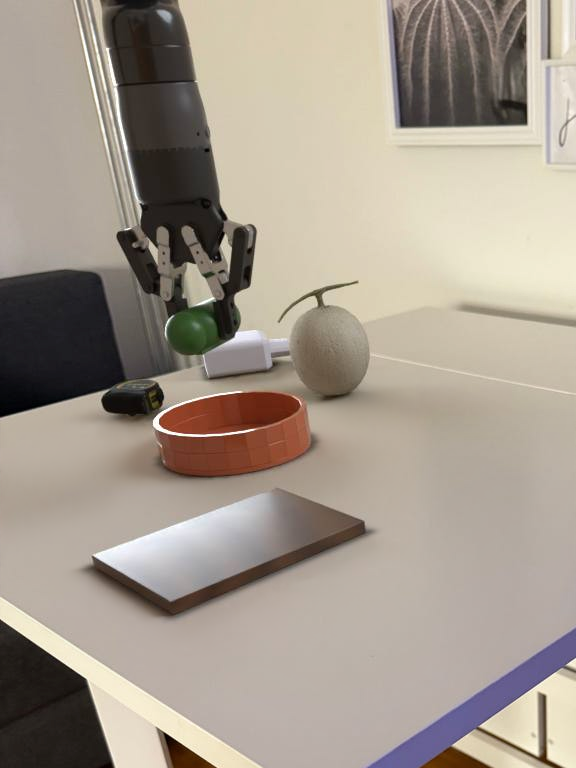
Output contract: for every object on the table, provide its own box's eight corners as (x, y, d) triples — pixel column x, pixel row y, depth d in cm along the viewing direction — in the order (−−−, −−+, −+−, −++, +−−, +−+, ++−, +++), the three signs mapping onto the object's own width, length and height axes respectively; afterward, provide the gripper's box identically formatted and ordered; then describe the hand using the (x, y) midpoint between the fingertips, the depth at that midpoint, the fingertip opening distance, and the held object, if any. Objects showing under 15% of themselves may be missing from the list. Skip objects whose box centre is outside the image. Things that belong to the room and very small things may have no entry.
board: (173, 615, 74) (170, 602, 74) (94, 567, 83) (90, 555, 83) (366, 532, 86) (364, 520, 86) (279, 498, 95) (277, 487, 94)
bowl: (213, 487, 99) (204, 447, 96) (135, 455, 109) (125, 418, 107) (340, 443, 109) (335, 405, 107) (258, 417, 120) (251, 383, 117)
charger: (309, 366, 141) (208, 380, 138) (299, 353, 149) (204, 366, 145) (304, 334, 139) (201, 347, 135) (295, 323, 146) (198, 335, 143)
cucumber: (200, 360, 88) (191, 316, 86) (162, 360, 89) (152, 316, 86) (250, 333, 97) (243, 292, 95) (216, 333, 98) (208, 293, 96)
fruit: (288, 389, 131) (269, 276, 123) (369, 379, 133) (356, 268, 125) (292, 409, 122) (273, 290, 114) (379, 399, 124) (365, 280, 116)
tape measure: (103, 419, 123) (95, 391, 121) (134, 404, 129) (127, 377, 127) (146, 422, 121) (139, 393, 119) (176, 406, 127) (170, 378, 125)
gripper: (73, 149, 82) (123, 347, 91) (220, 141, 79) (256, 347, 87) (120, 144, 88) (162, 329, 97) (258, 136, 85) (288, 329, 94)
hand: (207, 337), depth 92 cm, fingers closed on cucumber, 4 cm apart
